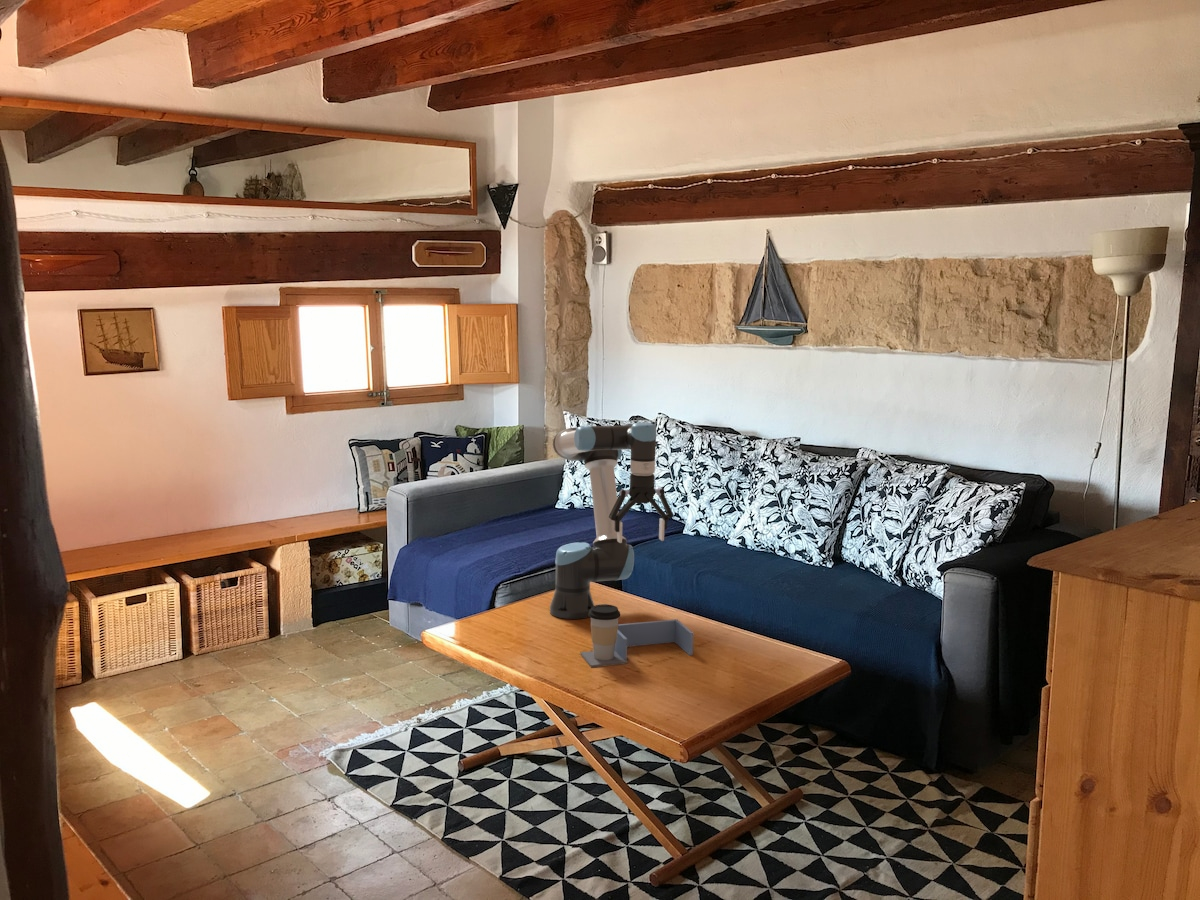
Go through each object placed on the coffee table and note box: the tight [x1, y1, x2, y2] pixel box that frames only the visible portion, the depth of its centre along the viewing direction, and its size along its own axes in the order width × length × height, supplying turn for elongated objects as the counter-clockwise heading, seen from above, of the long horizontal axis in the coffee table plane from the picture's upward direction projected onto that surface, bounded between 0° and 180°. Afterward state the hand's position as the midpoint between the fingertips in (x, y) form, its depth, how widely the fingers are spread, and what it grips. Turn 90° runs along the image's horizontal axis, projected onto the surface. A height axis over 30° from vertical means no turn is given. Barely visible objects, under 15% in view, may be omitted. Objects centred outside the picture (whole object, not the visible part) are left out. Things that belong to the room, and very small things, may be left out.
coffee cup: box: [588, 603, 621, 660], centre depth 293 cm, size 9×9×15 cm
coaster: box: [579, 650, 628, 668], centre depth 295 cm, size 11×11×1 cm
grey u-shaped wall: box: [615, 618, 694, 662], centre depth 301 cm, size 13×22×7 cm, turn 108°
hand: (640, 540), depth 307 cm, fingers open, 13 cm apart
